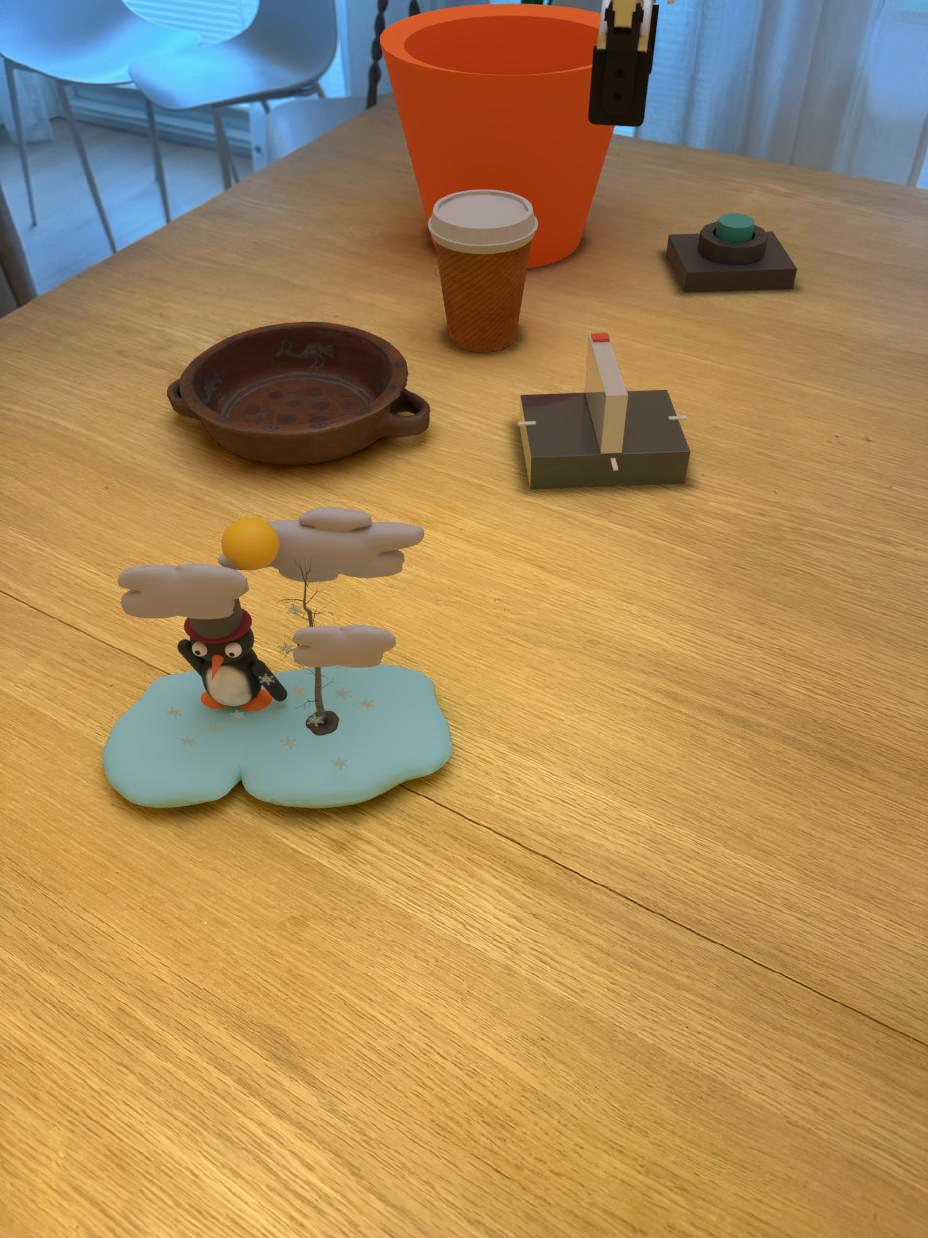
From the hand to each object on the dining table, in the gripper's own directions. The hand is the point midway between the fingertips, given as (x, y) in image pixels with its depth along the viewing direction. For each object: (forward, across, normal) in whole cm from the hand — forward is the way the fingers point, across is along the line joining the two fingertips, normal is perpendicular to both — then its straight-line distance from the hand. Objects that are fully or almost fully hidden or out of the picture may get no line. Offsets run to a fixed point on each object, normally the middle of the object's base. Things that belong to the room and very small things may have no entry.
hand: (621, 97), depth 64 cm
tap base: (+27, +2, -1) cm, 27 cm away
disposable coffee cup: (+27, +19, +11) cm, 35 cm away
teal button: (+23, +37, -11) cm, 45 cm away
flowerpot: (+27, +42, +12) cm, 51 cm away
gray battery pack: (+24, +2, -1) cm, 24 cm away
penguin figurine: (+27, -32, +15) cm, 45 cm away
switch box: (+27, +37, -11) cm, 47 cm away
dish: (+28, +2, +24) cm, 36 cm away
